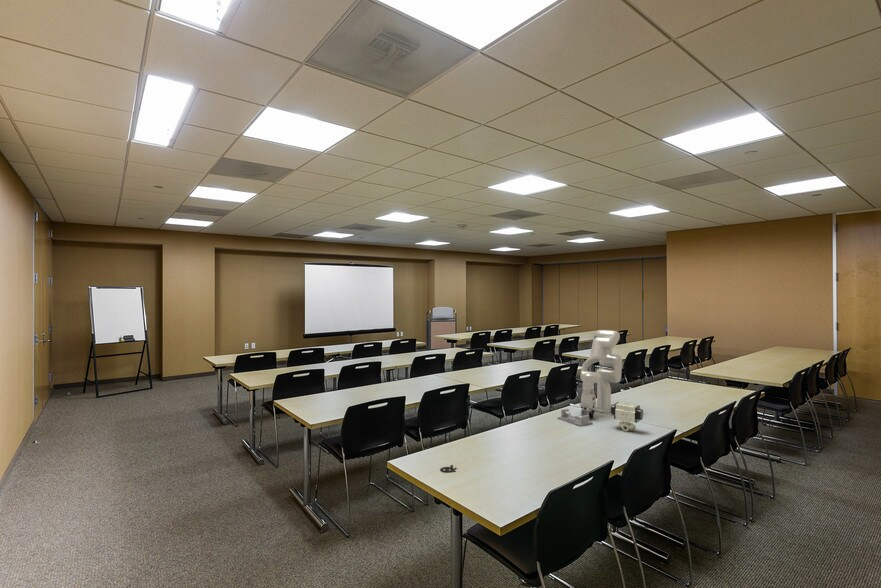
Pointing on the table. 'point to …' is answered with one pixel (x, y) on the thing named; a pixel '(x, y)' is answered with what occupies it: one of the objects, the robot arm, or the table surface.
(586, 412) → the coupler
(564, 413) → the shaft stand
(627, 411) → the ball valve
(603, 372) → the robot arm
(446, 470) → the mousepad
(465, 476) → the table surface
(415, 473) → the table surface
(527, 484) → the table surface
